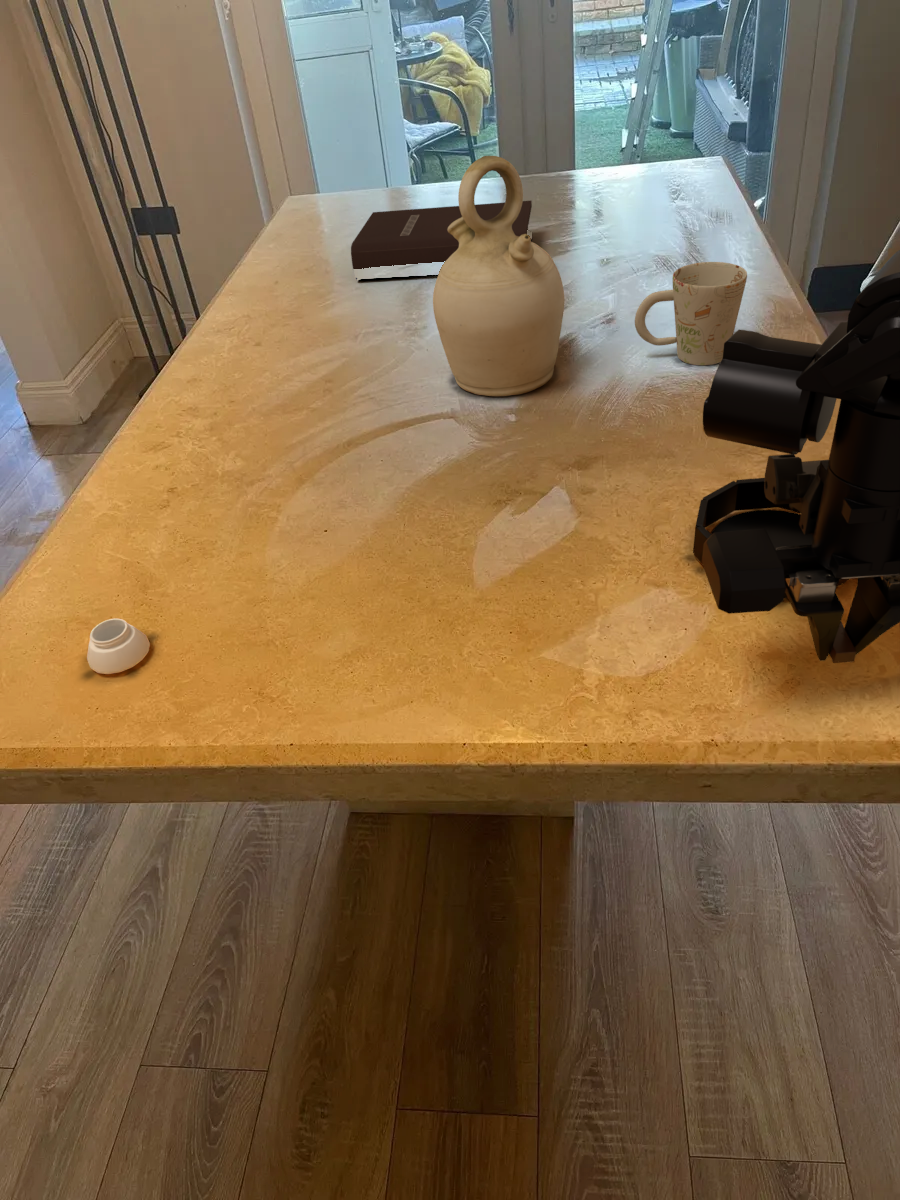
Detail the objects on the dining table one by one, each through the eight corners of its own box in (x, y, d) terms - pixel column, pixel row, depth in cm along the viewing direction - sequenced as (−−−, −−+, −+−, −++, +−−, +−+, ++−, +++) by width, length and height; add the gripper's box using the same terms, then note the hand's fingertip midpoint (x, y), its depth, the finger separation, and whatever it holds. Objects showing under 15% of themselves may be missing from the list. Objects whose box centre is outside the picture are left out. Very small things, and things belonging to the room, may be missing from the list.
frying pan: (678, 514, 79) (681, 482, 76) (831, 502, 77) (838, 469, 75) (738, 693, 61) (744, 658, 59) (937, 682, 60) (950, 646, 58)
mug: (745, 366, 101) (755, 282, 95) (638, 375, 102) (642, 293, 96) (729, 339, 108) (737, 258, 101) (629, 348, 109) (631, 268, 102)
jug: (430, 365, 111) (403, 155, 95) (542, 342, 113) (534, 132, 97) (459, 414, 99) (434, 184, 84) (584, 388, 101) (583, 158, 85)
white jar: (142, 628, 74) (85, 652, 72) (131, 602, 72) (72, 626, 70) (157, 660, 70) (97, 686, 69) (146, 634, 69) (84, 659, 67)
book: (355, 284, 139) (349, 247, 135) (378, 246, 154) (372, 212, 150) (526, 274, 134) (525, 235, 131) (532, 236, 149) (531, 200, 145)
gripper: (978, 394, 57) (921, 578, 66) (694, 418, 58) (679, 594, 68) (1070, 481, 48) (989, 678, 58) (733, 506, 49) (710, 694, 59)
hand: (832, 655), depth 61 cm, fingers closed on frying pan
